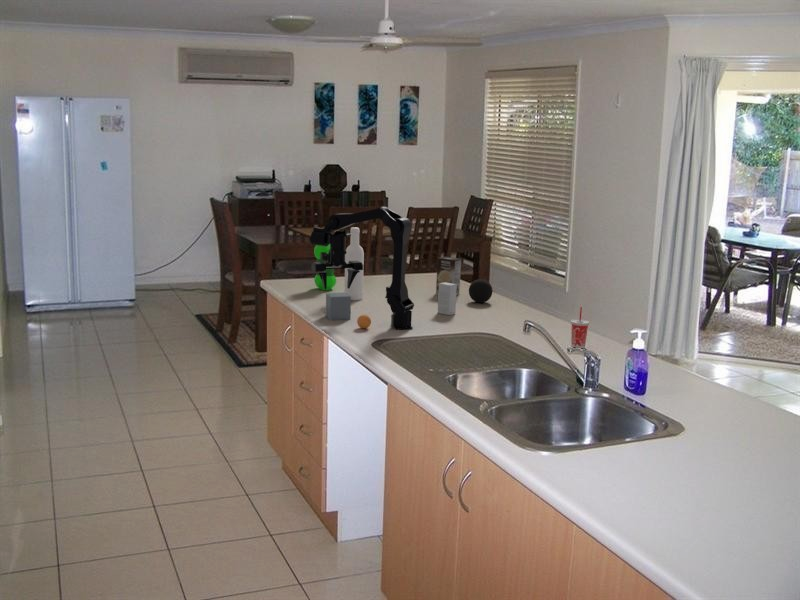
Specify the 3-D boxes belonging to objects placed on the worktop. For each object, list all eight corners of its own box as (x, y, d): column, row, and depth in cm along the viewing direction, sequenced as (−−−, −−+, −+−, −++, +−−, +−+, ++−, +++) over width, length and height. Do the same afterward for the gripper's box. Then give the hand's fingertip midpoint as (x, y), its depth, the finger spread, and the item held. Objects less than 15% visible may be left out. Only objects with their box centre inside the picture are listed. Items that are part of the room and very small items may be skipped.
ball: (368, 326, 310) (369, 313, 309) (372, 329, 306) (372, 316, 305) (355, 327, 309) (355, 313, 308) (359, 330, 304) (359, 316, 303)
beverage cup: (565, 345, 292) (568, 305, 290) (580, 344, 295) (583, 304, 292) (575, 349, 287) (578, 309, 284) (590, 348, 289) (594, 308, 286)
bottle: (366, 299, 359) (368, 228, 353) (350, 301, 354) (351, 229, 348) (356, 296, 365) (358, 226, 359) (340, 297, 361) (342, 227, 355)
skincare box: (455, 314, 336) (457, 284, 334) (448, 315, 333) (450, 285, 331) (444, 311, 340) (445, 281, 338) (437, 312, 337) (438, 283, 335)
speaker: (486, 299, 367) (487, 276, 365) (495, 304, 357) (497, 281, 355) (464, 300, 363) (465, 277, 361) (473, 305, 354) (474, 281, 352)
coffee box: (435, 293, 377) (436, 257, 373) (442, 291, 382) (443, 256, 379) (453, 296, 372) (454, 260, 369) (460, 294, 377) (461, 258, 374)
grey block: (345, 314, 328) (345, 292, 326) (350, 319, 321) (350, 296, 319) (325, 315, 326) (326, 293, 324) (330, 320, 319) (330, 296, 317)
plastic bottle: (316, 286, 385) (316, 231, 380) (339, 287, 383) (340, 232, 378) (310, 290, 375) (311, 233, 370) (334, 291, 373) (335, 234, 368)
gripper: (353, 244, 327) (352, 284, 330) (306, 245, 319) (306, 286, 322) (364, 248, 317) (363, 289, 320) (316, 249, 309) (315, 291, 312)
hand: (336, 288), depth 319 cm, fingers open, 9 cm apart
